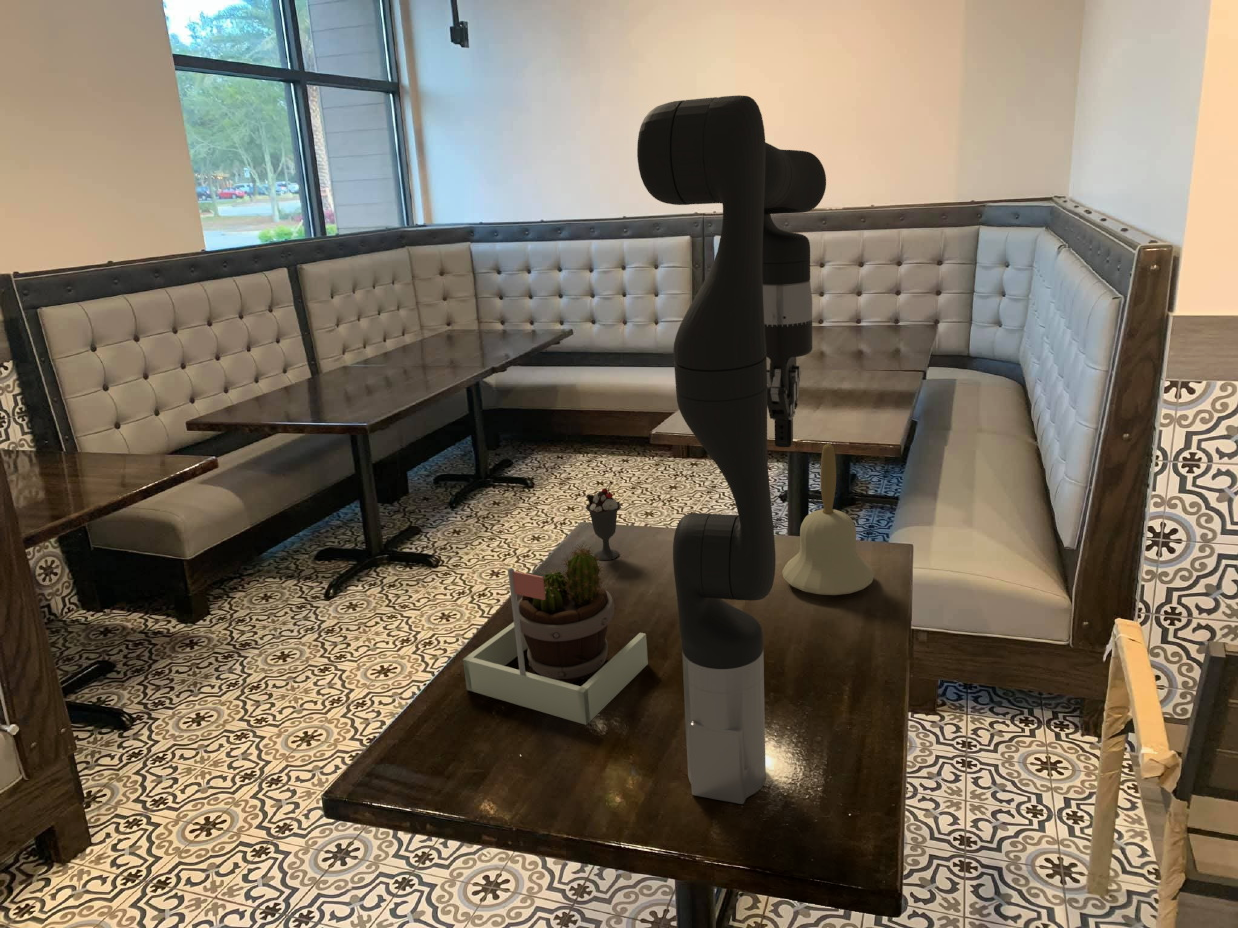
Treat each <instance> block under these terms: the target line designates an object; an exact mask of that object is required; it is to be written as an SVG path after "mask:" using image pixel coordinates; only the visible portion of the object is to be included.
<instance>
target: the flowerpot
mask: <svg viewBox="0 0 1238 928" xmlns="http://www.w3.org/2000/svg"><path fill="white" fill-rule="evenodd" d="M584 544H585V542H583V544H582V545H581V546H580V545H578V544H577V546H578V547H574V546H572V547H571V549H572V551H570V552H569V554H570V558H569V557H566V559H567V560H562V562H563V563H562V565H565V568H566V569H567V570H566V569H565V570H564V569H562V572H563V573H562V572H561V571H558V570H559V568H558V567H556V568H555V570H554V571H553V570H552V569H549V568H547V569H545V570H546V571H545V572H546V573H545V572H542V571H541V572H540V573H541V576H542V574H544V576H545V577H543V576H542V577H543V579H544V589H545V600H541V599H537V598H532V597H528V596H523V595H522V597H521V598H520V599H519V600H517V601H518V609H519V618H520V627H521V632H522V633H523V634H524V637H525V640H526V643H527V645H528V648H527V651H526V652H527V653H526V657H527V659H528V666H529V667H531V668H532V670H533V671H534V672H536V673H537V674H538V675H540V676H543V677H547V678H551V679H554V680H558V681H562V682H566V683H569V684H573V683H576V682H580V680H583V681H584V680H586V679H589V678H591V677H592V676H593V675H594V674H595V673H597V672H598V671H599V670H600V669H601V668H602V667H603V666H604V663H605V661H606V660H607V656H608V651H609V645H608V644H609V643H608V640H607V639H606V637H607V631H608V625H609V624H610V622H611V621H612V620H613V618H614V613H615V603H614V600H613V599H614V598H613V597H612V595H611V594H610V592H609V591H607V590H606V589H605V588H604V587H603V588H602V584H603V582H605V580H604V579H603V578H604V577H603V576H604V575H603V573H602V572H605V570H603V569H604V567H603V566H602V563H600V562H599V561H600V560H599V559H598V558H599V556H598V557H597V554H596V557H594V549H591V548H592V546H590V547H587V545H584ZM583 546H584V547H583ZM586 547H587V548H586ZM600 555H601V554H600ZM547 570H548V571H550V572H549V573H547ZM600 573H601V574H600ZM600 575H601V576H600Z"/></svg>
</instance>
